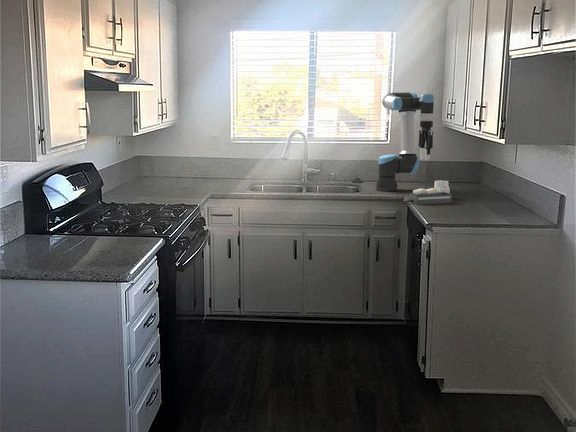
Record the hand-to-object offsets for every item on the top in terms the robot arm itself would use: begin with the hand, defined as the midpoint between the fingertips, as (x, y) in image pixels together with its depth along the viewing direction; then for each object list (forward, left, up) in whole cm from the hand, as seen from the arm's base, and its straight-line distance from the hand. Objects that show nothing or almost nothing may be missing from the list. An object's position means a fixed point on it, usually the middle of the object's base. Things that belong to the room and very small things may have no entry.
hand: (424, 159), depth 389 cm
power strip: (+9, -3, -25) cm, 27 cm away
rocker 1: (+9, -8, -18) cm, 22 cm away
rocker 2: (+9, 0, -18) cm, 20 cm away
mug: (-3, +15, -25) cm, 29 cm away
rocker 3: (+9, +7, -18) cm, 22 cm away
